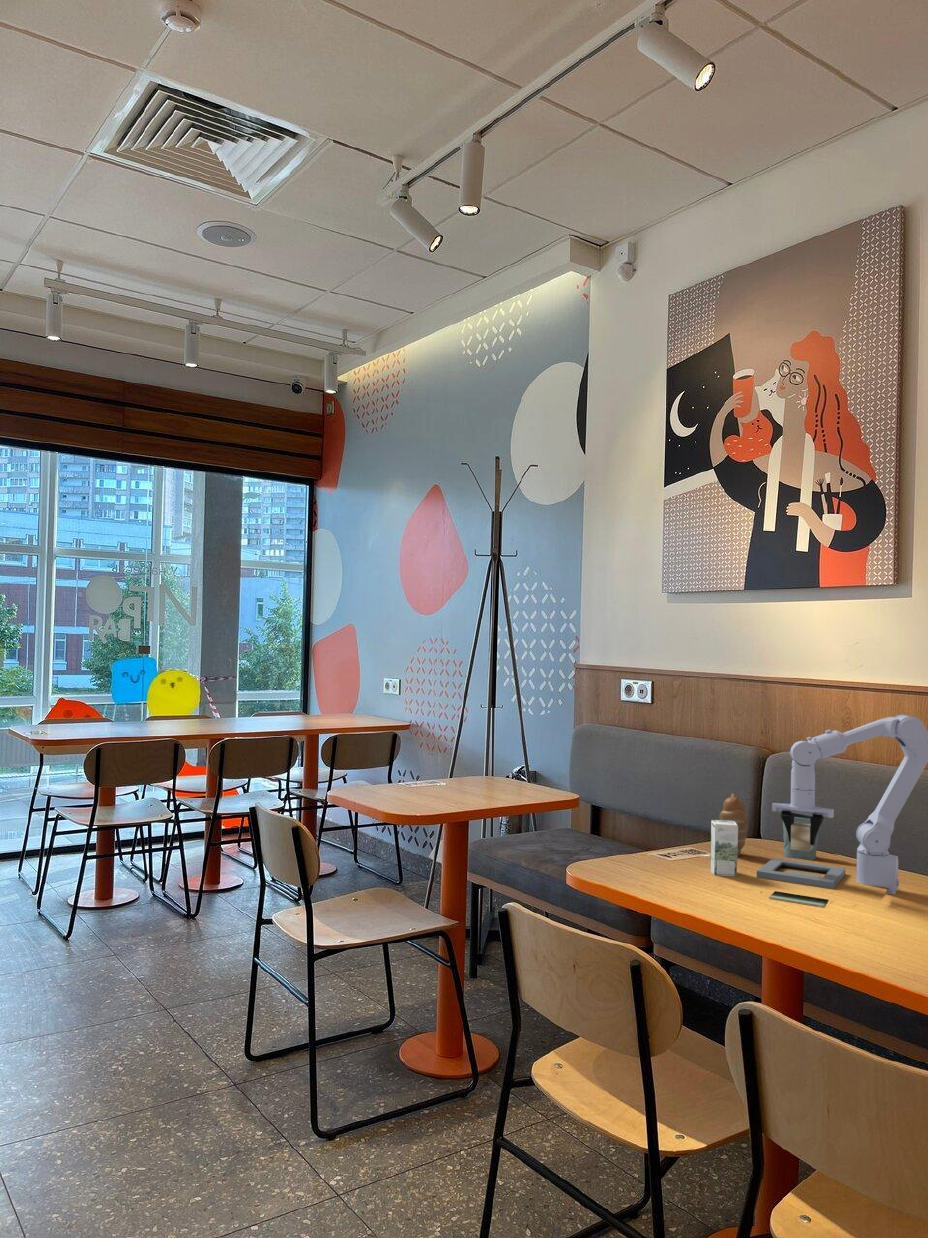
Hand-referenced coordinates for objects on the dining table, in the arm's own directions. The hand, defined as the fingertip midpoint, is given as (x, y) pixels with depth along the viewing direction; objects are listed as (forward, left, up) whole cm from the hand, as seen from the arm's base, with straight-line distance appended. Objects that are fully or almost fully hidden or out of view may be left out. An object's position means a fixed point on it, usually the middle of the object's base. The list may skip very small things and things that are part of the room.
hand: (801, 843), depth 229 cm
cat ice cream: (+21, -15, -10) cm, 28 cm away
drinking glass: (+6, -31, -10) cm, 33 cm away
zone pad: (-3, +16, -10) cm, 19 cm away
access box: (0, -1, -10) cm, 10 cm away
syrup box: (+17, +9, -10) cm, 22 cm away
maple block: (0, 0, -1) cm, 1 cm away
